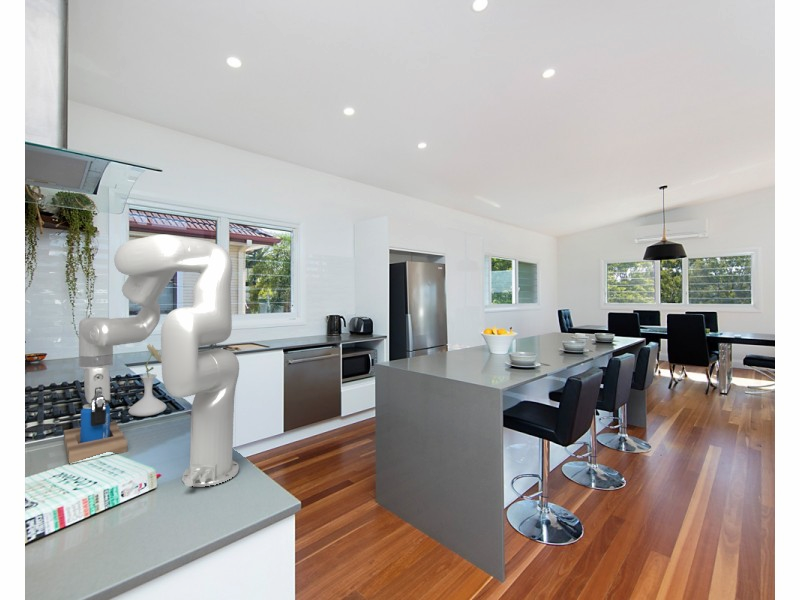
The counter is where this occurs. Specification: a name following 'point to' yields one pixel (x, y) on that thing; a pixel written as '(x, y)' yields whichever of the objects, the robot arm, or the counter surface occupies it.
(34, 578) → the counter surface
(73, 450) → the block
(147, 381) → the flower in vase
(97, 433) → the beverage can
